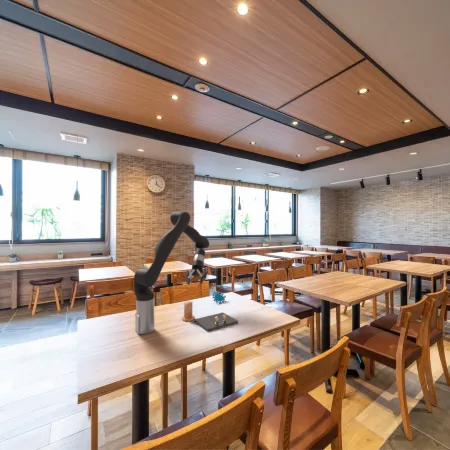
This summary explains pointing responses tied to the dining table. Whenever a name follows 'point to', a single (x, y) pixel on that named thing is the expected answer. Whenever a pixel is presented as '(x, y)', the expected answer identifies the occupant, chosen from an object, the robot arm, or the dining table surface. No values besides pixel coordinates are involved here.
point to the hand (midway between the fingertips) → (194, 283)
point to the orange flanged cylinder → (188, 312)
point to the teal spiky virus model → (218, 297)
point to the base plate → (215, 321)
